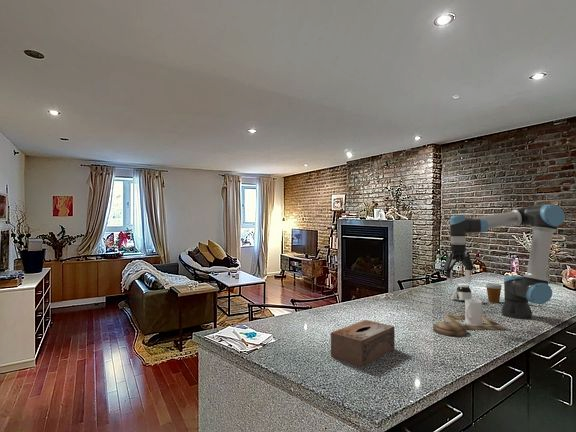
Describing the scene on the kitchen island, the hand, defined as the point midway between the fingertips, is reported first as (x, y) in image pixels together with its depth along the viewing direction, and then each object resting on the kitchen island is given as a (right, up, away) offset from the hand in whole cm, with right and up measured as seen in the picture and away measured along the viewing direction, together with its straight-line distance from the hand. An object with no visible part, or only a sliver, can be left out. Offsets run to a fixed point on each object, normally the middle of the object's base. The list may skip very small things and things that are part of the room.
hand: (459, 283), depth 187 cm
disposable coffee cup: (+47, -22, +48) cm, 71 cm away
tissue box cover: (-61, -21, -43) cm, 78 cm away
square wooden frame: (+6, -21, -2) cm, 22 cm away
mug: (+6, -22, -2) cm, 22 cm away
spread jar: (+27, -23, +51) cm, 62 cm away
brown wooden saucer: (-13, -21, -16) cm, 29 cm away
